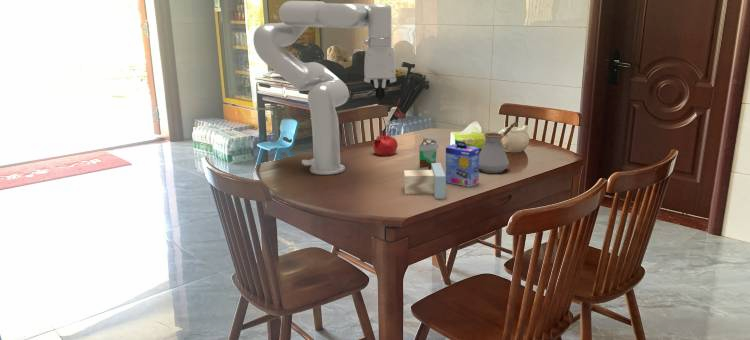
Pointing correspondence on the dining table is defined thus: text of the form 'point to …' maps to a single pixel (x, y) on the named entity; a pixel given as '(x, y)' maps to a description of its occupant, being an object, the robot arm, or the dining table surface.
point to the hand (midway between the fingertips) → (380, 99)
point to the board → (439, 180)
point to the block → (418, 182)
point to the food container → (427, 153)
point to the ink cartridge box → (462, 164)
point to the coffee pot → (494, 153)
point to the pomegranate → (385, 145)
